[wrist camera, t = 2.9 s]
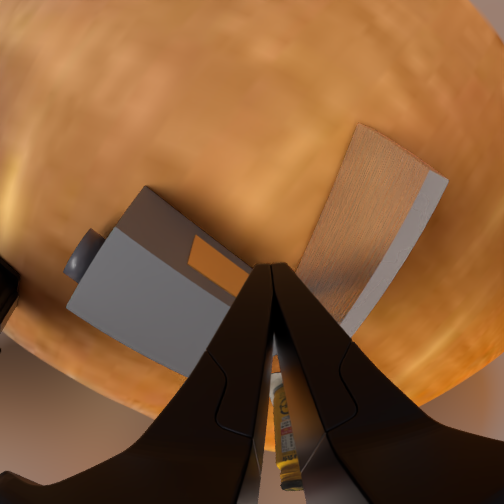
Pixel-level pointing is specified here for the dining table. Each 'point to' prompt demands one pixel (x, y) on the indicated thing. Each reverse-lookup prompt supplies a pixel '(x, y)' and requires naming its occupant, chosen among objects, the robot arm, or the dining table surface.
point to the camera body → (156, 283)
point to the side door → (368, 225)
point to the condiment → (284, 438)
